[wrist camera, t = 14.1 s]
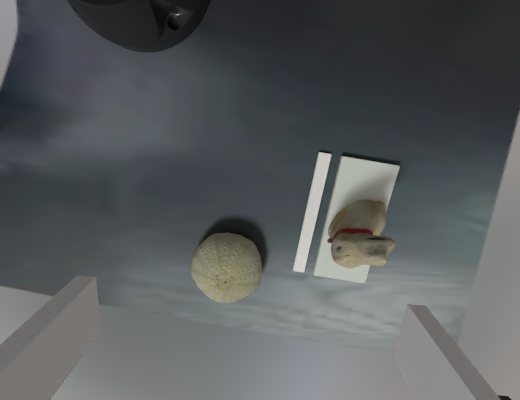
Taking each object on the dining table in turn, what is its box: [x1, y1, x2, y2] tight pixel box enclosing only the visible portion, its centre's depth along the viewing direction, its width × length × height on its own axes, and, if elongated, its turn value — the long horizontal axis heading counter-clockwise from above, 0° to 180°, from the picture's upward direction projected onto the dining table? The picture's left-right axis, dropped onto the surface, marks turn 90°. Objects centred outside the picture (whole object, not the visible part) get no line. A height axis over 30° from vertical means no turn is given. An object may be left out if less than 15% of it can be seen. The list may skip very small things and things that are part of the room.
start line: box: [293, 152, 331, 272], centre depth 37 cm, size 16×2×1 cm, turn 170°
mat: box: [313, 156, 400, 283], centre depth 37 cm, size 16×7×1 cm, turn 170°
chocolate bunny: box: [327, 200, 396, 268], centre depth 32 cm, size 6×8×10 cm
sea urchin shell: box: [191, 232, 263, 303], centre depth 37 cm, size 9×8×8 cm
